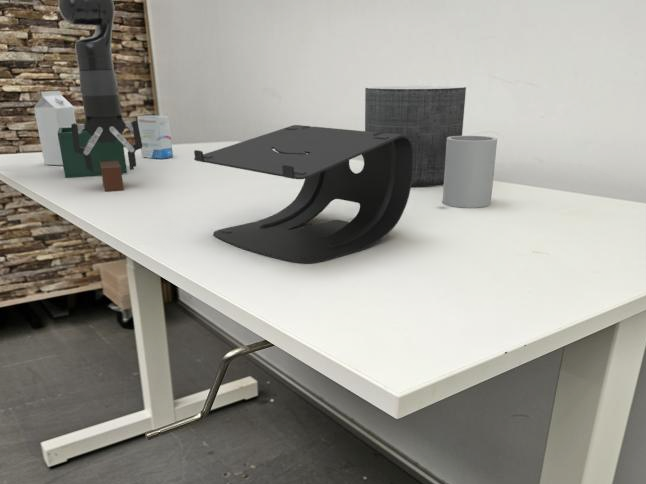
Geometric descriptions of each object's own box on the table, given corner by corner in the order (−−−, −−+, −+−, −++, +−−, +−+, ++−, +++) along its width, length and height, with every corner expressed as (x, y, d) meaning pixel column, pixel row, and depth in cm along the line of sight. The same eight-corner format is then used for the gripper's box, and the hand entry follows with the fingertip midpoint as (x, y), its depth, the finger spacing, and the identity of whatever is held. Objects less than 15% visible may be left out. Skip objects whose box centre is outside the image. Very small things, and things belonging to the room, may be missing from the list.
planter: (416, 168, 156) (420, 84, 148) (479, 180, 139) (487, 86, 131) (345, 176, 145) (346, 87, 137) (404, 191, 128) (408, 89, 120)
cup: (447, 207, 113) (451, 141, 108) (439, 198, 121) (443, 135, 117) (495, 207, 113) (502, 140, 108) (484, 197, 121) (490, 135, 117)
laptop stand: (415, 236, 95) (420, 133, 88) (302, 270, 80) (299, 148, 74) (306, 211, 112) (304, 123, 106) (196, 234, 97) (187, 134, 91)
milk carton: (44, 165, 168) (30, 91, 160) (62, 161, 174) (49, 90, 166) (65, 166, 166) (52, 92, 158) (82, 162, 172) (70, 90, 164)
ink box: (174, 157, 180) (169, 115, 175) (162, 159, 176) (157, 116, 171) (153, 155, 184) (148, 114, 179) (141, 157, 180) (135, 115, 175)
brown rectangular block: (104, 191, 131) (101, 168, 129) (103, 183, 140) (99, 161, 138) (124, 190, 133) (120, 166, 131) (121, 182, 141) (117, 160, 139)
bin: (65, 177, 148) (57, 133, 144) (66, 169, 161) (58, 127, 157) (127, 173, 153) (121, 130, 149) (123, 165, 166) (117, 125, 161)
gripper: (133, 91, 134) (143, 166, 141) (64, 93, 130) (78, 170, 136) (136, 92, 128) (146, 170, 134) (64, 95, 123) (78, 175, 130)
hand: (112, 170), depth 135 cm, fingers open, 8 cm apart
